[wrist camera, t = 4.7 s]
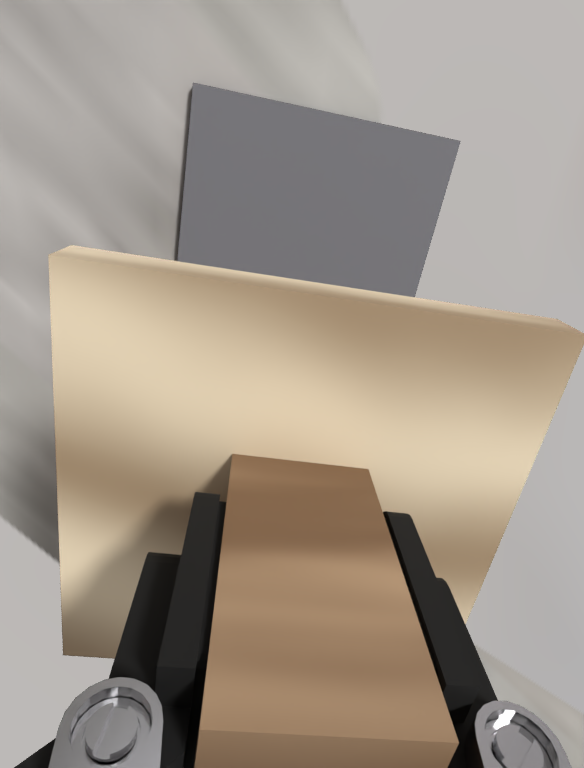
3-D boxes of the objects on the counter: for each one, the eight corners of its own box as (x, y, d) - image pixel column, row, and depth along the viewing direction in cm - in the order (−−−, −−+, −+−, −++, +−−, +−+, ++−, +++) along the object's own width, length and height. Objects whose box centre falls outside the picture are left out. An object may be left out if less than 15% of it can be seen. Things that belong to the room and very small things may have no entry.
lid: (71, 245, 10) (-267, 386, 4) (557, 319, 12) (940, 524, 5) (78, 618, 15) (-74, 984, 8) (430, 644, 16) (544, 982, 9)
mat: (194, 83, 21) (192, 82, 21) (457, 141, 23) (460, 140, 22) (171, 343, 26) (169, 345, 26) (388, 376, 28) (390, 379, 27)
